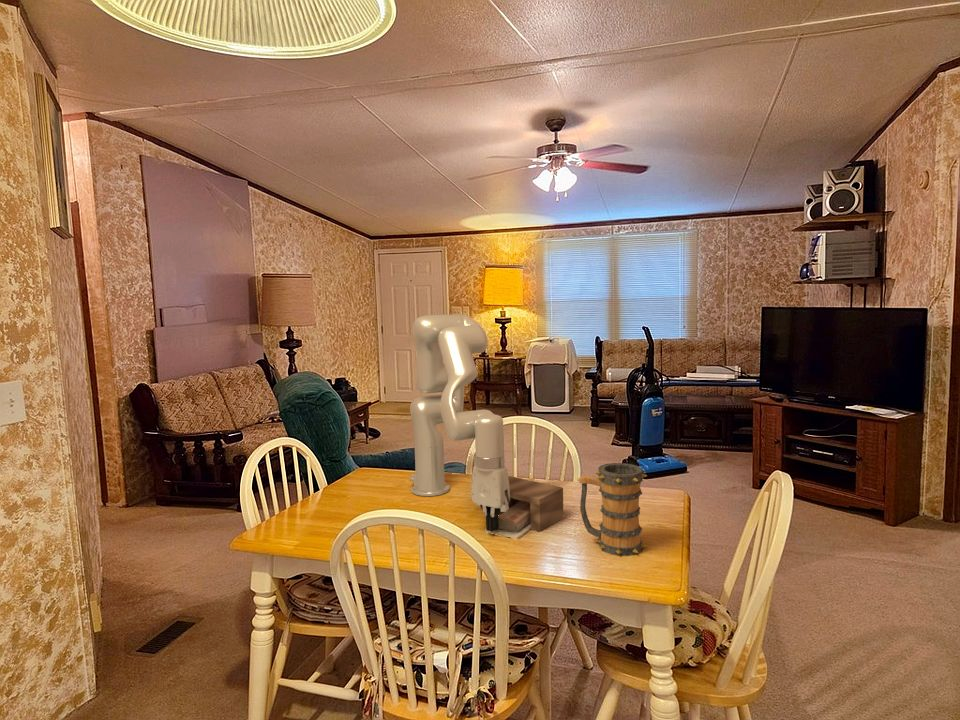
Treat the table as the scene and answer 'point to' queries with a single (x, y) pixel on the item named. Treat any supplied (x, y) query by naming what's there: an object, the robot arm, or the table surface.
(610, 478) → the mug
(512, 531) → the packaged product
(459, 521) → the table surface
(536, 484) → the walnut shelf
